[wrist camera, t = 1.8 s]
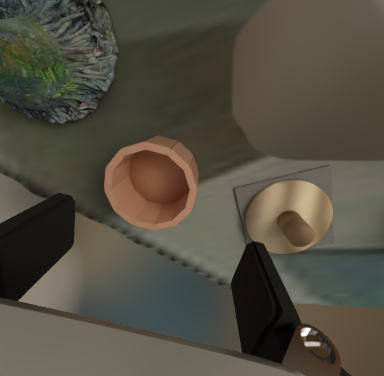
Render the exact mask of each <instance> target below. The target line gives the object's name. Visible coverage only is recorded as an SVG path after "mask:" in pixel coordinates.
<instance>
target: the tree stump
mask: <svg viewBox="0 0 384 376" xmlns="http://www.w3.org/2000/svg"><path fill="white" fill-rule="evenodd" d="M72 1H73V2H75V3H76V4H77V5H76V4H75V7H74V6H72V4H71V3H72ZM78 6H81V9H80V10H79V8H78ZM118 52H119V49H118V45H117V41H116V37H115V33H114V29H113V26H112V22H111V18H110V14H109V11H108V9H107V8H106V6H105V5H104V4H103V3H102V1H101V0H0V100H1V101H3V102H6V103H9V104H10V105H12V106H13V110H14V111H18V112H20V113H24V114H25V115H26V116H28V117H29V118H35V119H36V118H37V119H43V120H46V121H51V122H52V123H54V122H58V123H61V124H62V123H64V122H66V121H68V120H70V121H71V120H77V119H81V118H84V116H86V115H87V114H88V113H89V112H94V110H96V108H97V105H98V103H99V102H100V101H101V99H102V97H103V96H104V94H105V93H106V92H107V89H108V88H109V86H110V85H111V83H112V82H113V80H114V75H115V64H116V62H117V58H118Z"/></svg>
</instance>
